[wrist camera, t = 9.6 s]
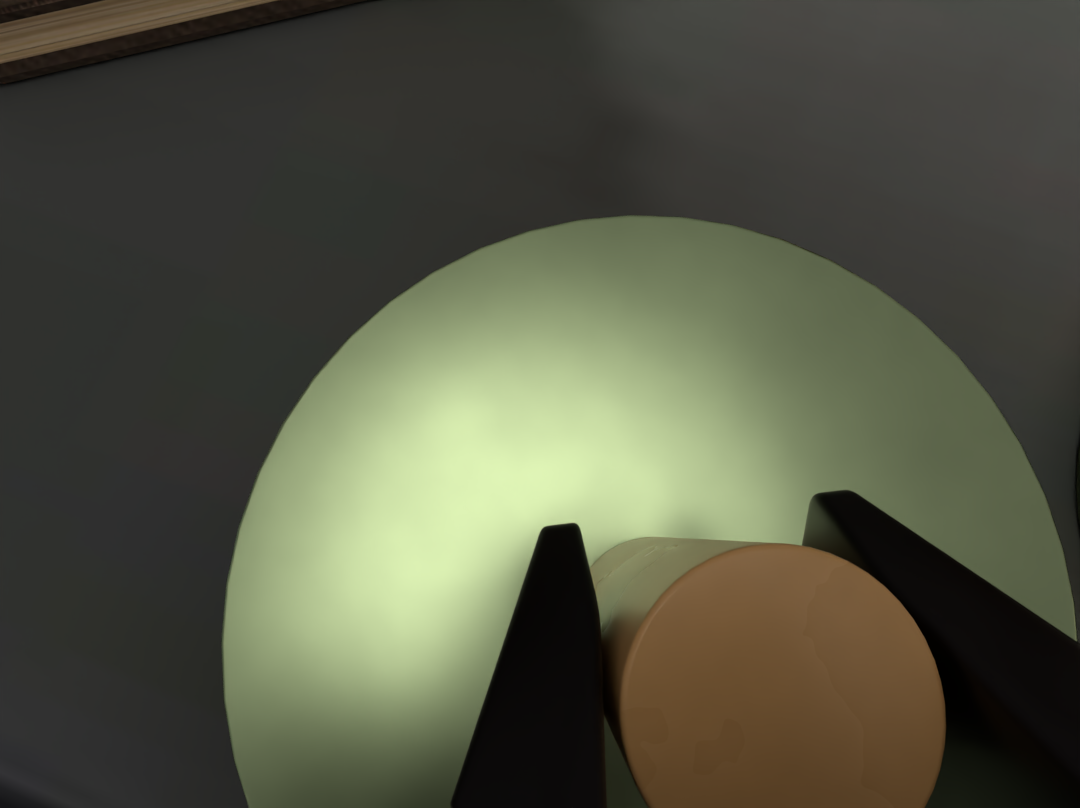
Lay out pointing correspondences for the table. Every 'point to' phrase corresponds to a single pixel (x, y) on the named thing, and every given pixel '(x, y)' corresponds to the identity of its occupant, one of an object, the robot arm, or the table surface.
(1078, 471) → the tin
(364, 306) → the table surface
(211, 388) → the table surface
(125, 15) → the hardcover book
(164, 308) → the table surface
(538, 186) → the table surface
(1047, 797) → the robot arm
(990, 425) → the lid
